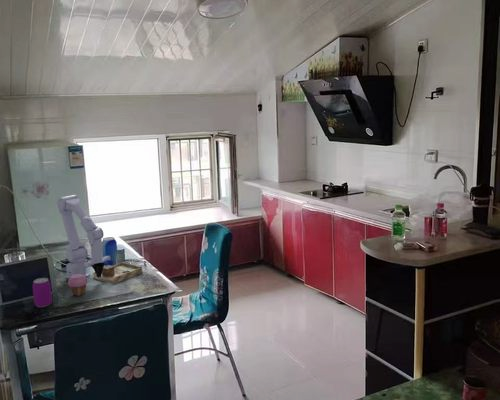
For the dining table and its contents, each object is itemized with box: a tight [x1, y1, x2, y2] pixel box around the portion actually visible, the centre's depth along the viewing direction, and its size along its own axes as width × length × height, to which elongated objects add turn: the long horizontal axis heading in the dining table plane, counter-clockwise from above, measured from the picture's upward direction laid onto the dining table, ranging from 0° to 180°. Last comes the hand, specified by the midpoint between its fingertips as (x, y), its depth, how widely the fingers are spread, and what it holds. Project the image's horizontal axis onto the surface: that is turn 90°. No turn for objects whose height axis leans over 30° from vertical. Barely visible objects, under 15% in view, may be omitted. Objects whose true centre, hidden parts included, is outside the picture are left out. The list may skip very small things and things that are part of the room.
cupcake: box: [67, 274, 88, 297], centre depth 244 cm, size 9×9×10 cm
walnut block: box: [102, 265, 115, 277], centre depth 265 cm, size 4×4×4 cm
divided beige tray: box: [92, 261, 143, 285], centre depth 270 cm, size 20×16×4 cm
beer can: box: [102, 236, 118, 267], centre depth 286 cm, size 8×8×16 cm
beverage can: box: [32, 277, 53, 308], centre depth 232 cm, size 8×8×12 cm
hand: (99, 276), depth 260 cm, fingers closed
